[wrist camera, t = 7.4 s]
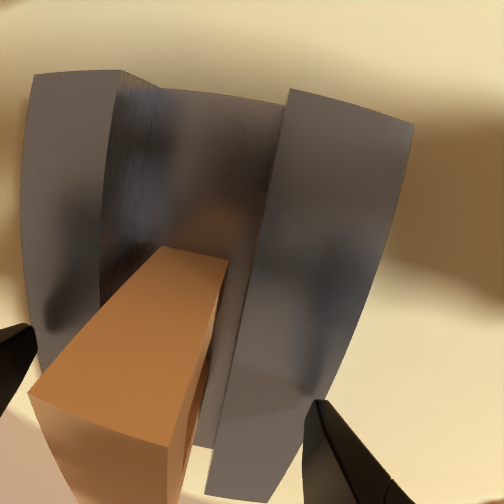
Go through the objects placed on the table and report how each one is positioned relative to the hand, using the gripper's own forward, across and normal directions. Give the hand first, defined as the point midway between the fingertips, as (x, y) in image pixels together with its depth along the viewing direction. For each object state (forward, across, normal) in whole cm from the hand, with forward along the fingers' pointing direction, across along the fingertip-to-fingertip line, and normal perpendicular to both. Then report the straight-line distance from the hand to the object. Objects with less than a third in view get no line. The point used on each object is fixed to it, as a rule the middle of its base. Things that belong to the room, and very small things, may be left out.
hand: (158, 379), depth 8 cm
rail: (+4, 0, 0) cm, 4 cm away
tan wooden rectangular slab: (+4, 0, 0) cm, 4 cm away
